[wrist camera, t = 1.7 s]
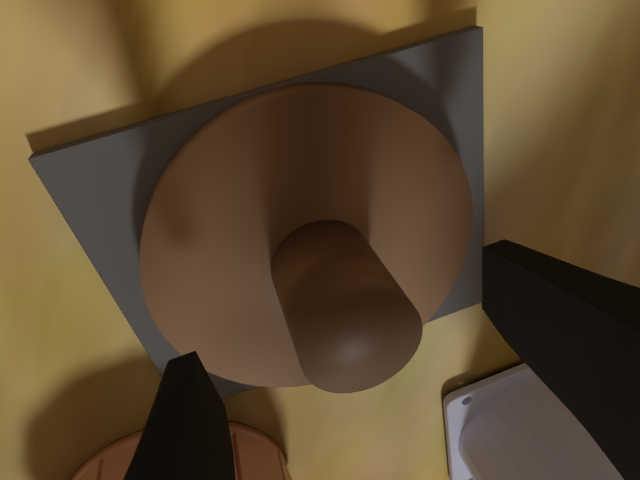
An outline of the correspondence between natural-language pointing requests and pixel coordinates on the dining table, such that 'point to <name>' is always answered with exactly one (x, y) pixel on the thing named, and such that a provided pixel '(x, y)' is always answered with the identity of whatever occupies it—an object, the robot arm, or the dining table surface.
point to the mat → (174, 129)
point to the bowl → (248, 447)
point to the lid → (306, 238)
